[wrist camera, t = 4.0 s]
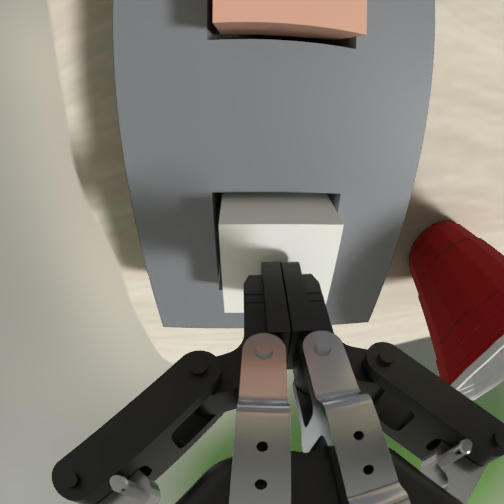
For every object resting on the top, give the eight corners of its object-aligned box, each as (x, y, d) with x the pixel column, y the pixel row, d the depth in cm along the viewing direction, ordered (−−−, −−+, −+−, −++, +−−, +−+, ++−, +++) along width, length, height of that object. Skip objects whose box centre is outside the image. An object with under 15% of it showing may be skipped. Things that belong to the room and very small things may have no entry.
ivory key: (320, 183, 14) (343, 224, 11) (310, 259, 17) (324, 310, 14) (224, 182, 14) (218, 224, 11) (227, 260, 17) (224, 312, 14)
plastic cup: (444, 302, 25) (493, 401, 15) (359, 290, 23) (406, 425, 13) (501, 213, 19) (583, 306, 9) (422, 171, 17) (542, 293, 7)
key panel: (384, -58, 8) (425, -81, 4) (348, 272, 22) (368, 321, 18) (154, -70, 7) (125, -104, 3) (175, 274, 21) (163, 326, 17)
